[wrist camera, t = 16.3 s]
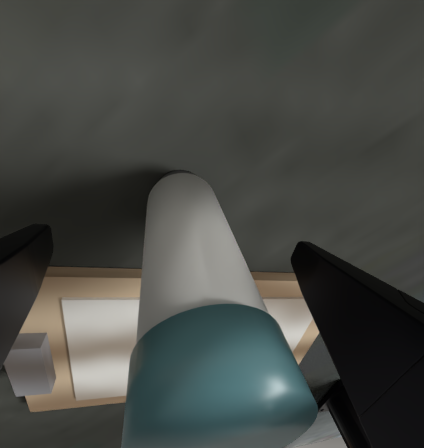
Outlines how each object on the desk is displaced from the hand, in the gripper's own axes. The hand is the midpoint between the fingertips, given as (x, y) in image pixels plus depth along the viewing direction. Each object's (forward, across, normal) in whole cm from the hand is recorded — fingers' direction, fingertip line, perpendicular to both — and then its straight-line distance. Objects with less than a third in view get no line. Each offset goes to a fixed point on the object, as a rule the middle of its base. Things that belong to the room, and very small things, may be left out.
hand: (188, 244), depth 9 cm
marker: (+4, 0, 0) cm, 4 cm away
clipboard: (+4, -2, +12) cm, 13 cm away
